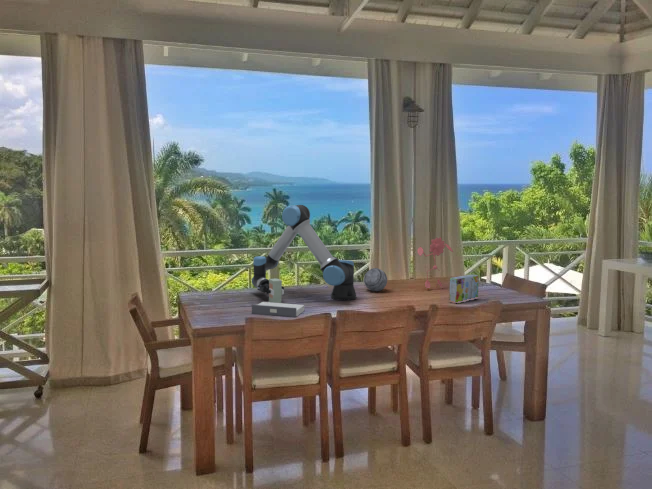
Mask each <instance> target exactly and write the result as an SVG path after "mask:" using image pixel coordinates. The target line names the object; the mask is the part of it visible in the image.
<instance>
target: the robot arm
mask: <svg viewBox="0 0 652 489" xmlns="http://www.w3.org/2000/svg"><path fill="white" fill-rule="evenodd" d="M281 214H282V215H281V218H282V219H281V220H282V222H283V223H284V224H285V225H286V228H285V229H284V231H283V232H282V234H281V235H280V237H279V238H278V240H277V241H276V242H275V244H273V245H274V246H273V247H272V248H271V250H270V251H269V252H268V254H267V256H263V255H261V256H260V255H258V256H254V257H253V262H252V264H253V276H252V278H251V284H252V286H254V288H257V291H260V292H261V293H263V294H266V295H269V293H270V294H271V295H274V290H272V289H271V288H269V279H268V278H267V271H270V270H273V269H275V268H277V266H278V264H279V261H280V259H281V258H282V256H283V255H284V253H285V252H286V250H287V249H288V247H289V246H290V245H291V243H292V242H293V241H294V239H295V237H296V236H297V235H299V236H300V238H301V239H302V241H303V242H304V243H305V245H306V247H307V248H308V250H310V253H312V255H313V257H314V258H315V259H316V261H317V262H318V263H319V265H320V271H321V272H322V278H323V280H324V281H325V283H326V284H327V285H330V286H333V287H332V291H331V293H330V298H331V299H332V300H336V301H354V300H356V299H357V292H356V290H355V286H354V283H355V282H354V281H355V279H354V275H355V262H354V261H353V260H347V259H339V258H337V257H334V256H333V255H332V253H331V252H330V251H329V249H328V248H327V245H325V244H324V242H323V241H322V240H321V238H320V236H319V235H318V234H317V232H316V231H315V229H314V228H313V227H312V225H311V224H310V222H311V220H310V218H311V213H310V209H309V208H308V207H307V206H306V205H304V204H295V205H294V204H291V205H289V206H286V207H285V208H284V209H283V211H282V213H281ZM282 295H283V296H284V295H285V287H284V286H282Z"/></svg>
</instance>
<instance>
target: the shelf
mask: <svg viewBox="0 0 652 489" xmlns="http://www.w3.org/2000/svg"><path fill="white" fill-rule="evenodd" d="M304 311H305V305H304V304H295V303H283V302H281V303H272V302H269V301H262V302H260V303H258V304H251V314H255V315H265V316H278V317H290V318H291V317H292V318H296V317H298V316H299V315H301V314H302V313H303V312H304Z"/></svg>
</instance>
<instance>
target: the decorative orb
mask: <svg viewBox="0 0 652 489" xmlns="http://www.w3.org/2000/svg"><path fill="white" fill-rule="evenodd" d="M363 283H364V286H365V287H366V288H367V289H368V290H369V291H370V292H375V291H376V292H381V291H382V290H384V289H385V288H386V286H387V283H388V276H387V274H386V272H385V271H384V270H382V269H380V268H377V267H374V268H373V267H372V268H370V269H369V270H367V271H366V273H365V274H364V276H363Z"/></svg>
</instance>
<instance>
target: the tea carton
mask: <svg viewBox="0 0 652 489" xmlns="http://www.w3.org/2000/svg"><path fill="white" fill-rule="evenodd" d="M268 280H269V288H271V289H272V290H274V295H271V294H270V293H269V294H268V302H272V303H282V297H283V296H282V295H283V294H282V285H283V284H282V282H283V281H282V280H281V279H279V278H269V279H268Z"/></svg>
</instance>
